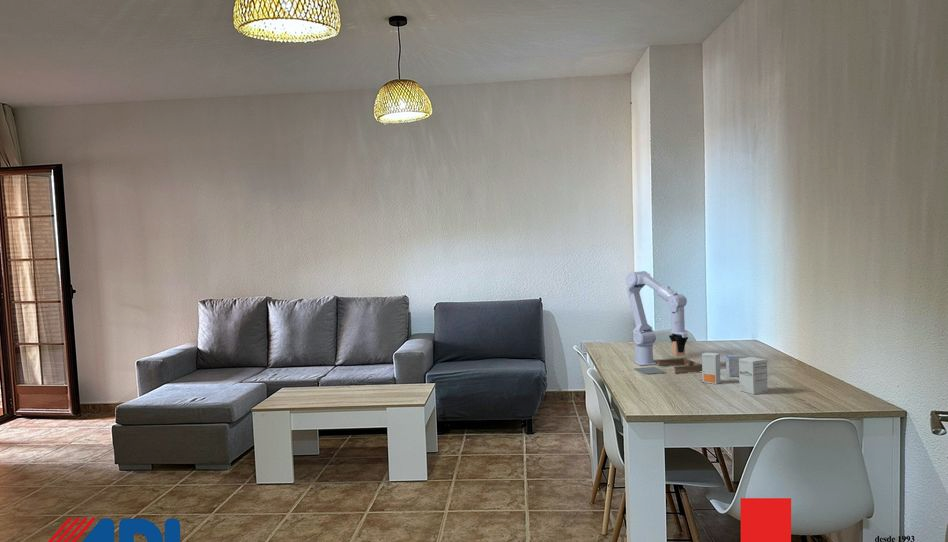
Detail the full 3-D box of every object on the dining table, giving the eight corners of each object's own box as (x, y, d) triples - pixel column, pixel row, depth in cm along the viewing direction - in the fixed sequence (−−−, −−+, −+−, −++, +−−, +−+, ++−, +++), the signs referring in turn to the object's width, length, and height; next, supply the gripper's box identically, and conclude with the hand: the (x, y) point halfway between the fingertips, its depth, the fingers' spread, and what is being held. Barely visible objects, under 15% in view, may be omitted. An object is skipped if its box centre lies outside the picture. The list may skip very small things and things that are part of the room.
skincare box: (702, 382, 285) (701, 353, 284) (706, 381, 288) (705, 352, 287) (716, 384, 281) (715, 354, 280) (721, 382, 284) (720, 353, 283)
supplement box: (738, 391, 267) (738, 358, 267) (753, 388, 270) (752, 356, 270) (753, 394, 260) (752, 361, 260) (768, 392, 263) (767, 359, 263)
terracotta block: (672, 354, 316) (672, 341, 316) (681, 354, 317) (680, 340, 317) (676, 356, 312) (676, 342, 312) (685, 355, 313) (684, 342, 313)
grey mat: (633, 369, 319) (633, 368, 319) (654, 368, 320) (654, 366, 320) (644, 374, 306) (644, 373, 306) (666, 373, 307) (666, 372, 307)
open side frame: (658, 366, 323) (658, 360, 323) (685, 364, 325) (684, 358, 325) (675, 373, 305) (675, 367, 305) (703, 371, 306) (703, 365, 306)
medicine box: (745, 374, 297) (744, 354, 297) (748, 376, 293) (747, 356, 292) (726, 375, 298) (725, 355, 297) (729, 377, 293) (728, 356, 293)
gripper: (693, 322, 307) (694, 353, 308) (679, 319, 322) (680, 348, 322) (678, 323, 306) (679, 354, 307) (664, 320, 321) (665, 349, 321)
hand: (678, 351), depth 315 cm, fingers closed on terracotta block, 4 cm apart
